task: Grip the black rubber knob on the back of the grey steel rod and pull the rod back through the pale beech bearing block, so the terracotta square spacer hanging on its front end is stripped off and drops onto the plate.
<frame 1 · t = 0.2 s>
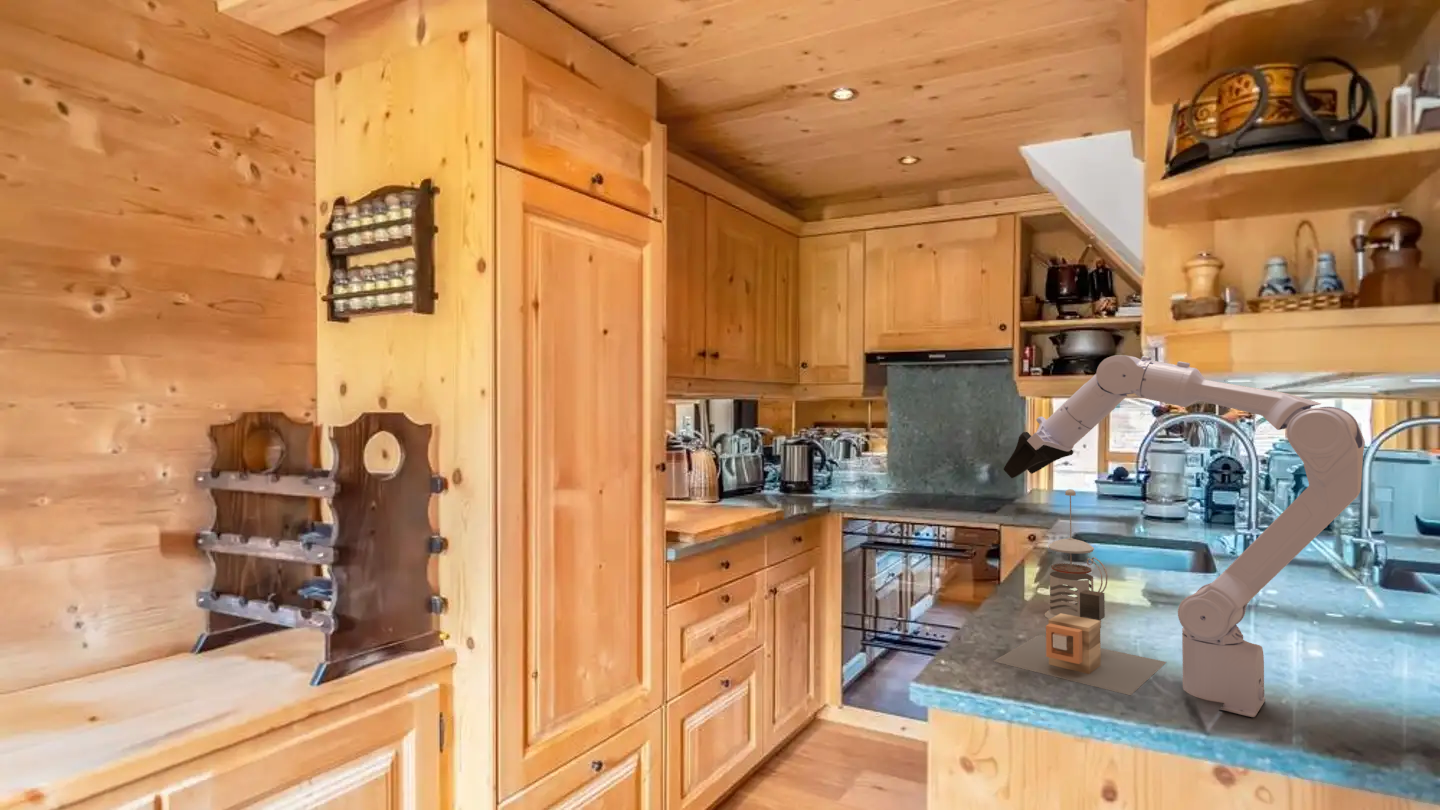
hand: (1018, 471, 125), 31 cm above the countertop, tool tilted 45°, fingers open, 7 cm apart
french press: (1076, 619, 144), on the countertop
mounting plate: (1079, 667, 118), on the countertop
spacer: (1064, 659, 114), point 3 cm above the countertop, touching shaft
shaft: (1078, 618, 118), point 8 cm above the countertop, slide at 0.0 cm, touching spacer
bearing block: (1074, 664, 117), resting on mounting plate
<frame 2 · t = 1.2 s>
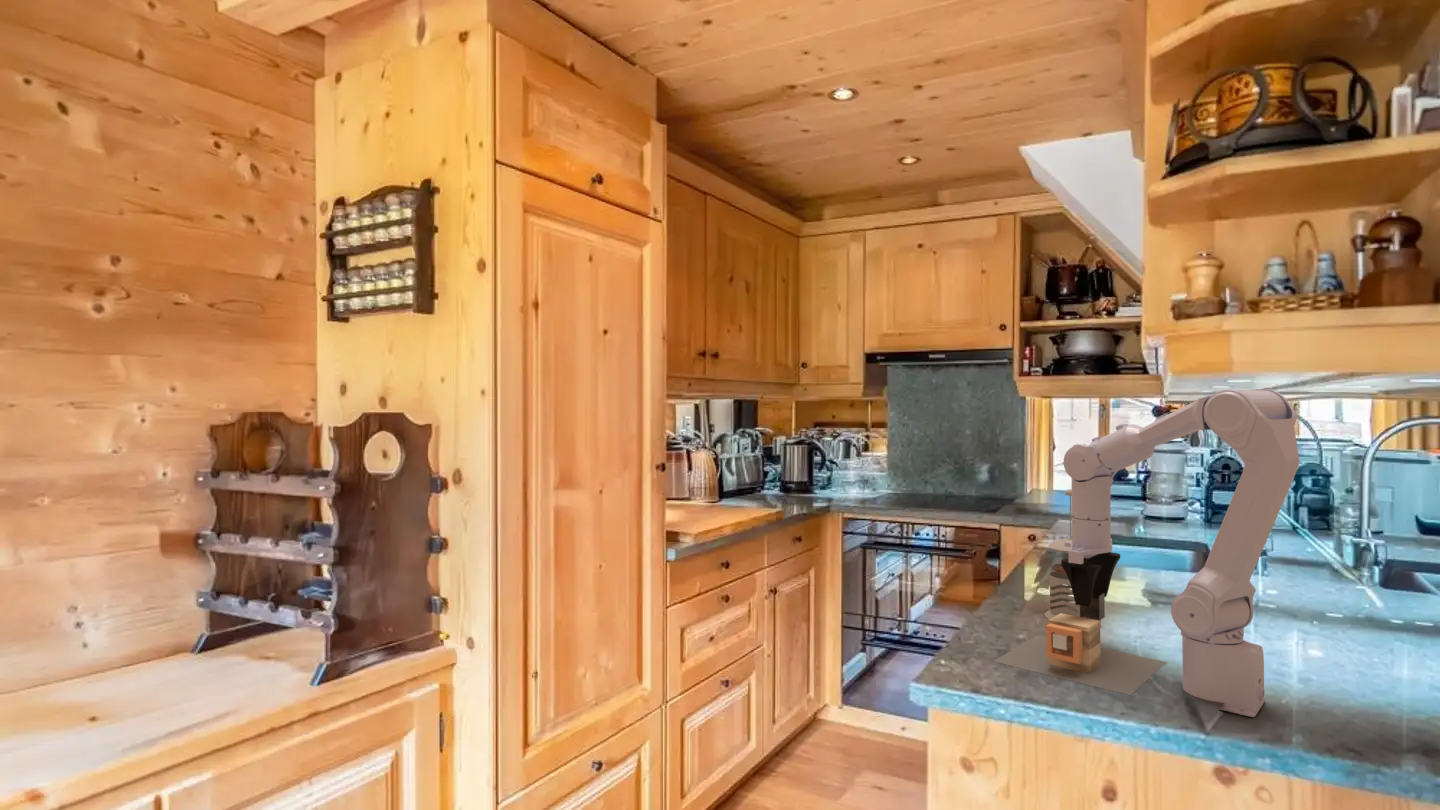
hand: (1091, 600, 122), 10 cm above the countertop, tool pointing down, fingers open, 7 cm apart
nothing on the countertop moved.
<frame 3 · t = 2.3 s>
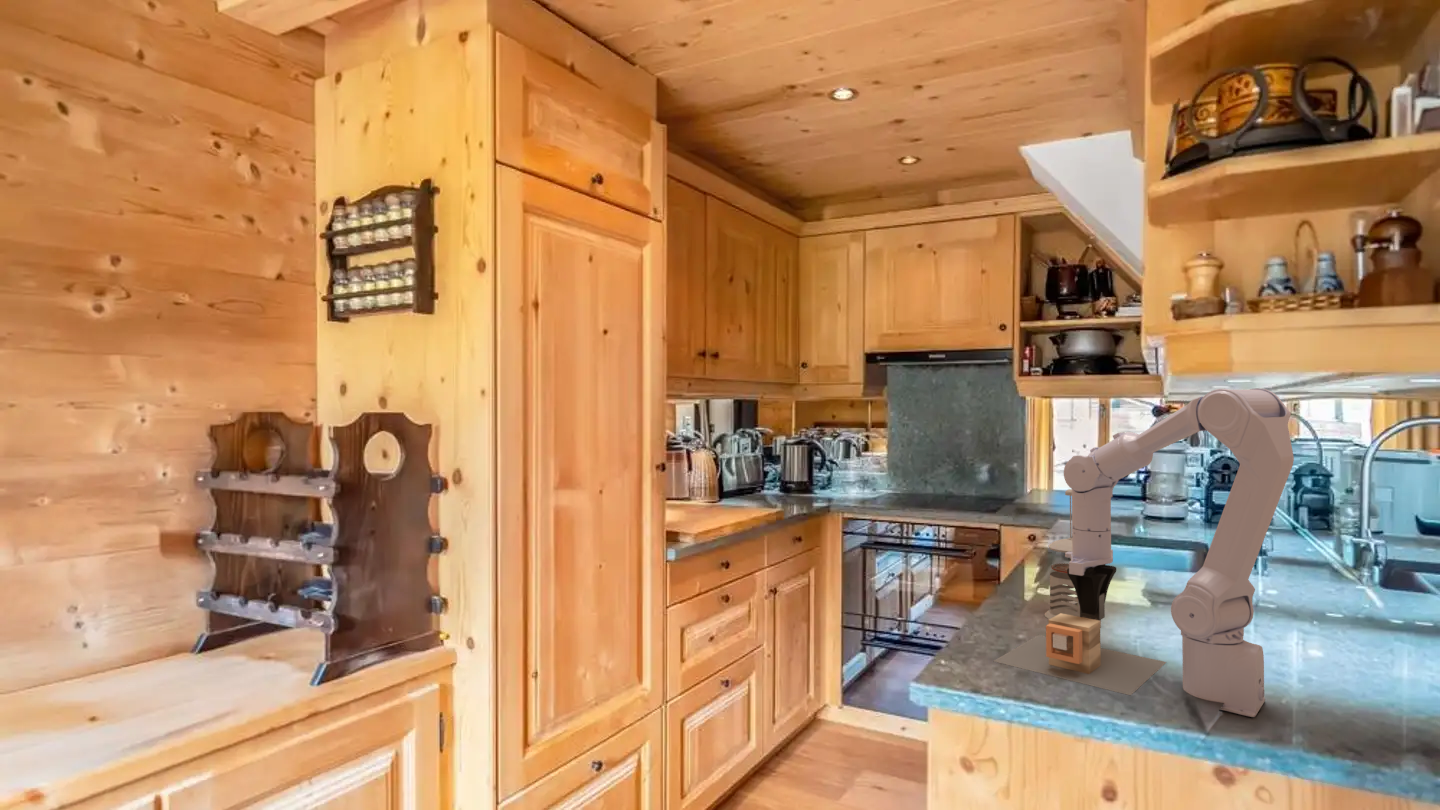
hand: (1092, 611, 122), 8 cm above the countertop, tool pointing down, fingers closed on shaft, 2 cm apart
shaft: (1078, 618, 118), point 8 cm above the countertop, slide at 0.0 cm, touching gripper, spacer
everything else where it was.
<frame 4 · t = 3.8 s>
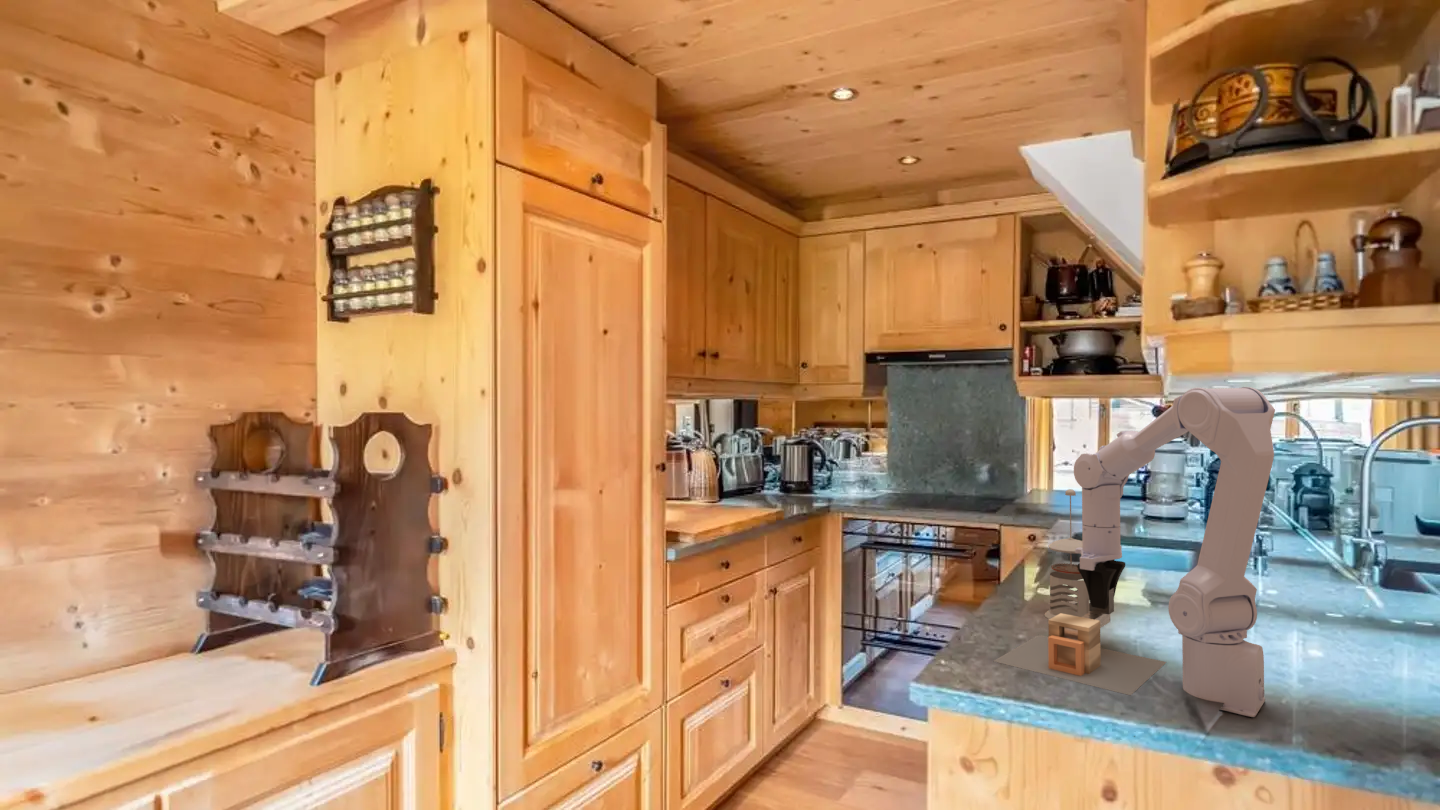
hand: (1101, 605, 125), 8 cm above the countertop, tool pointing down, fingers closed on shaft, 2 cm apart
spacer: (1066, 670, 114), point 1 cm above the countertop, touching mounting plate
shaft: (1088, 612, 121), point 8 cm above the countertop, slide at 4.6 cm, touching gripper
everything else where it was.
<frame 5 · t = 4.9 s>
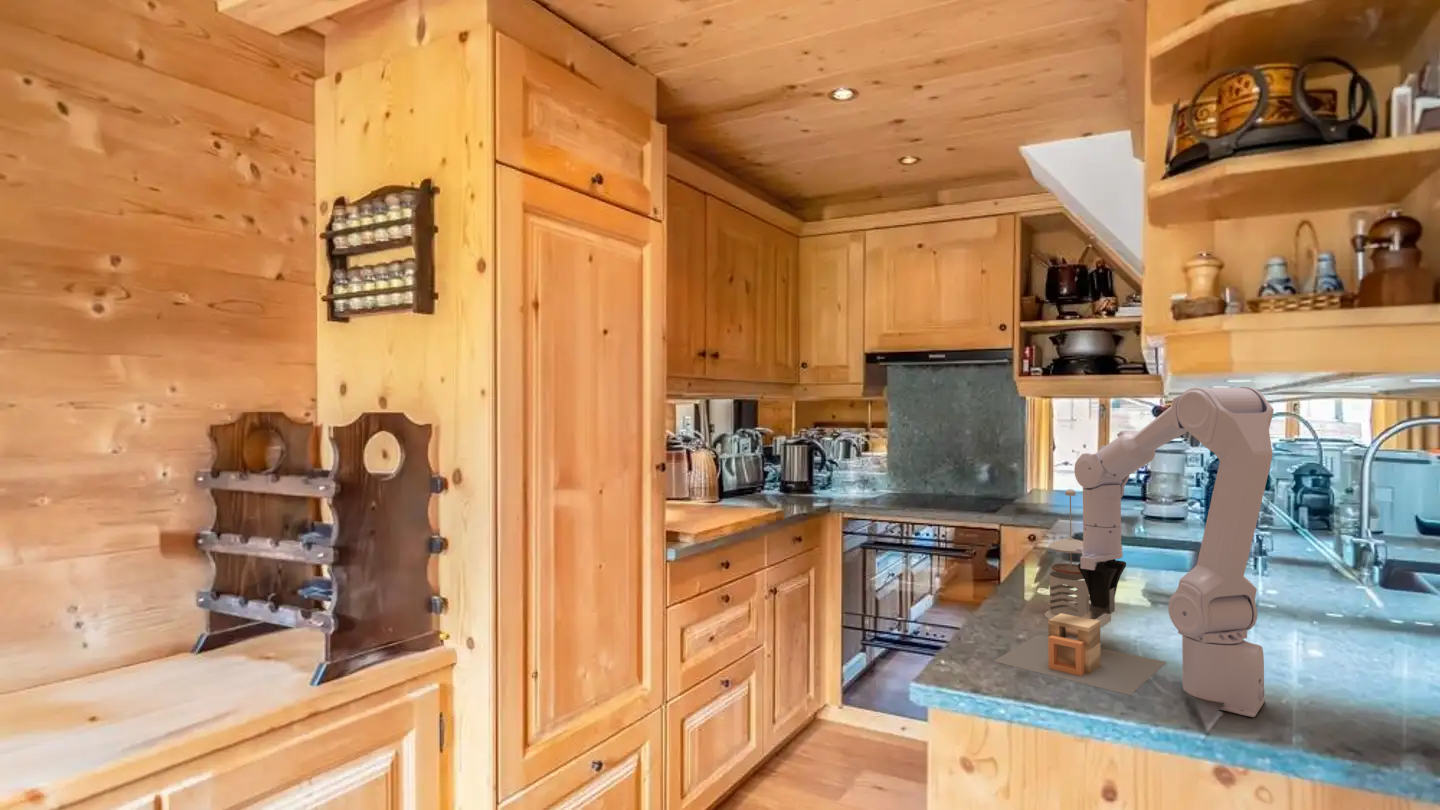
hand: (1102, 605, 126), 8 cm above the countertop, tool pointing down, fingers closed on shaft, 2 cm apart
shaft: (1089, 612, 121), point 8 cm above the countertop, slide at 5.0 cm, touching gripper
everything else where it was.
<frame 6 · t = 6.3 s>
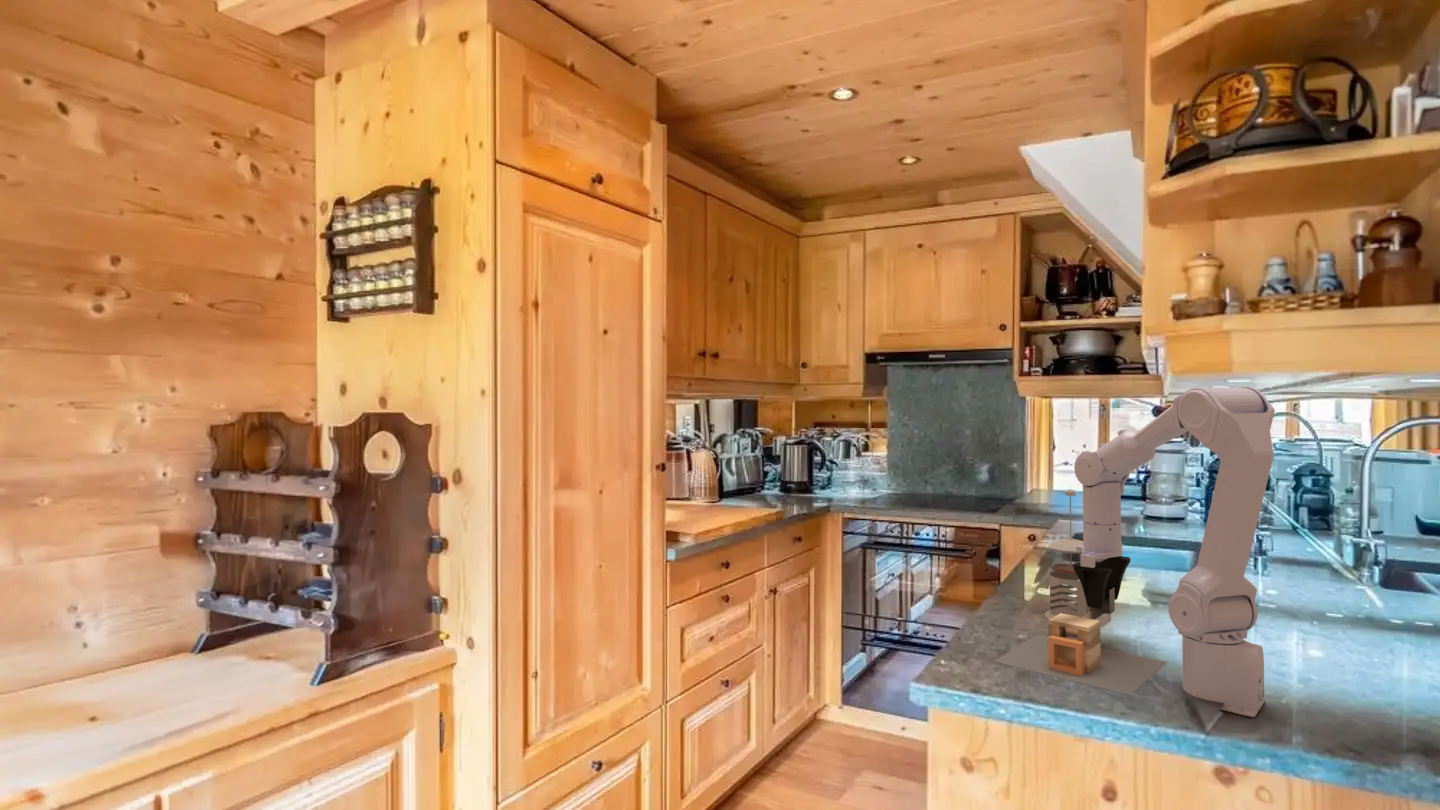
hand: (1102, 603, 126), 8 cm above the countertop, tool pointing down, fingers open, 7 cm apart
shaft: (1089, 612, 121), point 8 cm above the countertop, slide at 5.0 cm
everything else where it was.
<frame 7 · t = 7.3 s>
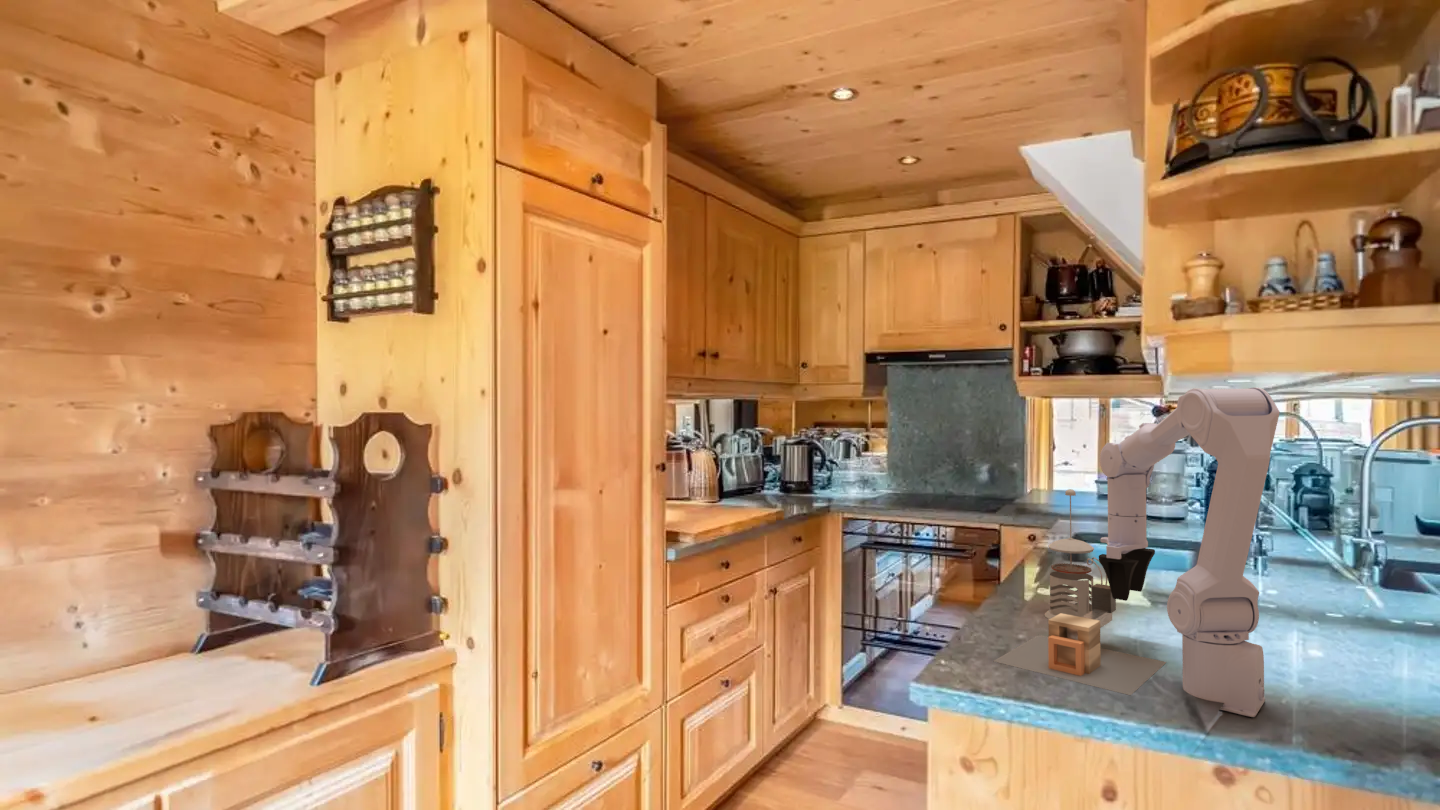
hand: (1127, 594, 126), 9 cm above the countertop, tool pointing down, fingers open, 7 cm apart
shaft: (1090, 611, 122), point 8 cm above the countertop, slide at 5.6 cm
everything else where it was.
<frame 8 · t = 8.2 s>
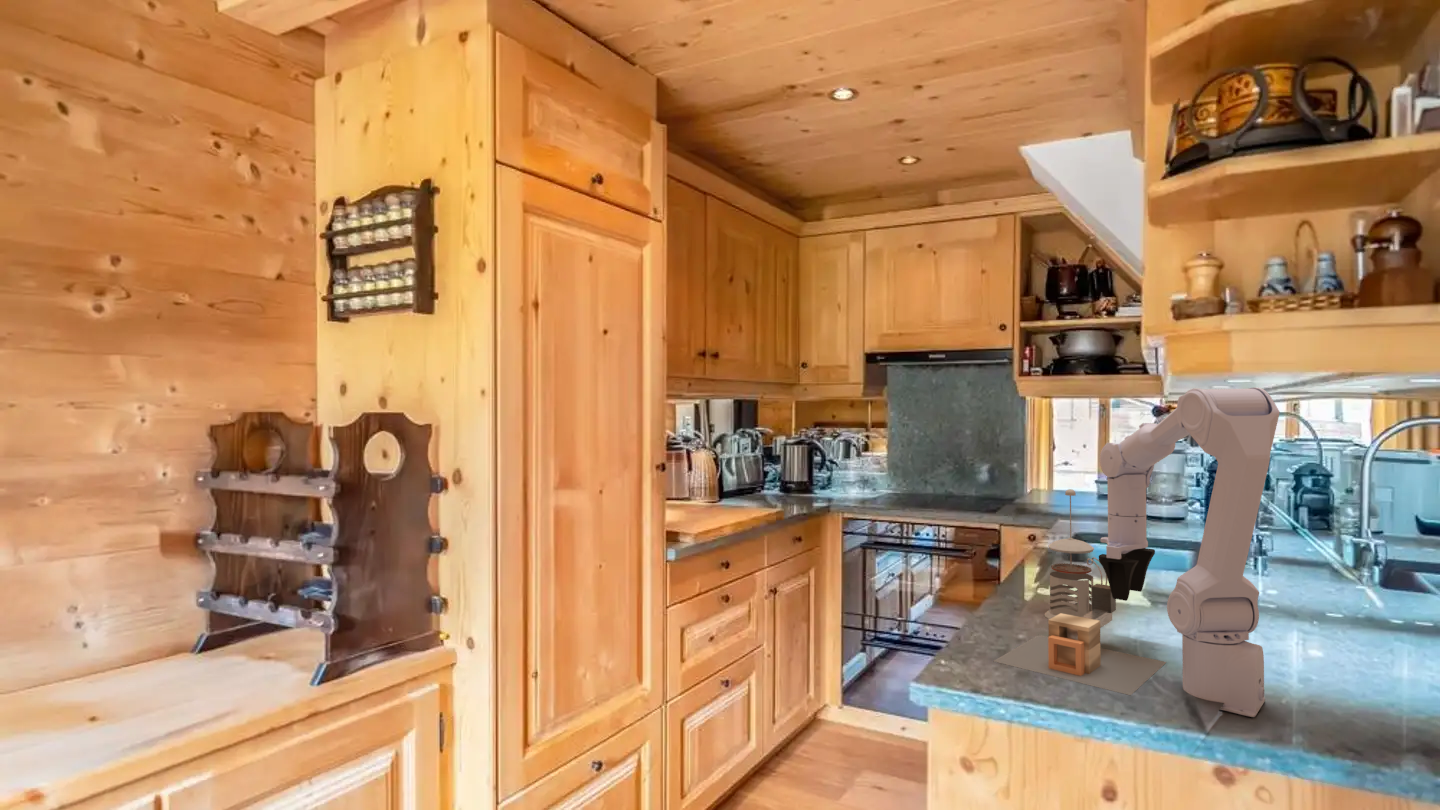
hand: (1127, 594, 126), 9 cm above the countertop, tool pointing down, fingers open, 7 cm apart
nothing on the countertop moved.
at the end: shaft slide at 5.6 cm; spacer point 1.0 cm above the countertop; spacer touching mounting plate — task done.
